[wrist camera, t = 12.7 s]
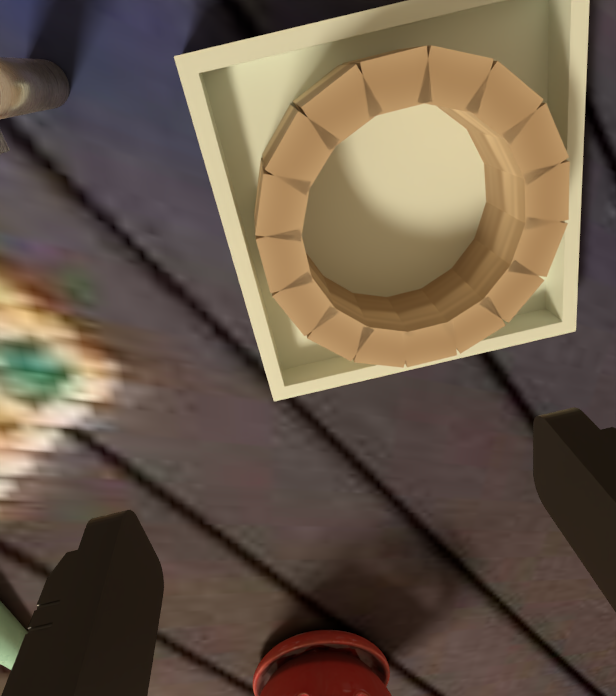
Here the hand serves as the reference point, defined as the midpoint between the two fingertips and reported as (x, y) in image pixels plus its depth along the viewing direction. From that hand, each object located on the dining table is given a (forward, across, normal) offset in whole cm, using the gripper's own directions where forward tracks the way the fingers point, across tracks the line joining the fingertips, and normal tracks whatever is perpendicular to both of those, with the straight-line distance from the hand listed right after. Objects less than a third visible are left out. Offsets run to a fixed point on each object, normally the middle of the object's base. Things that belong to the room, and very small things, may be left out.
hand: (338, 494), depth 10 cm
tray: (+20, -6, 0) cm, 21 cm away
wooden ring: (+19, -6, 0) cm, 20 cm away
